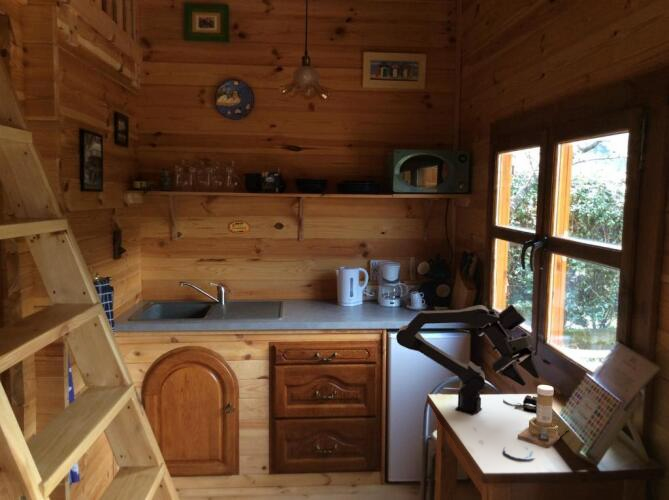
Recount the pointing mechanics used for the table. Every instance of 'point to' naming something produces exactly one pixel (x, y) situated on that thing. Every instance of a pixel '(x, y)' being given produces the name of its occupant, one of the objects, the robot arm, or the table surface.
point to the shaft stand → (539, 434)
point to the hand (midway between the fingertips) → (531, 381)
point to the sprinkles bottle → (544, 405)
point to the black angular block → (527, 407)
